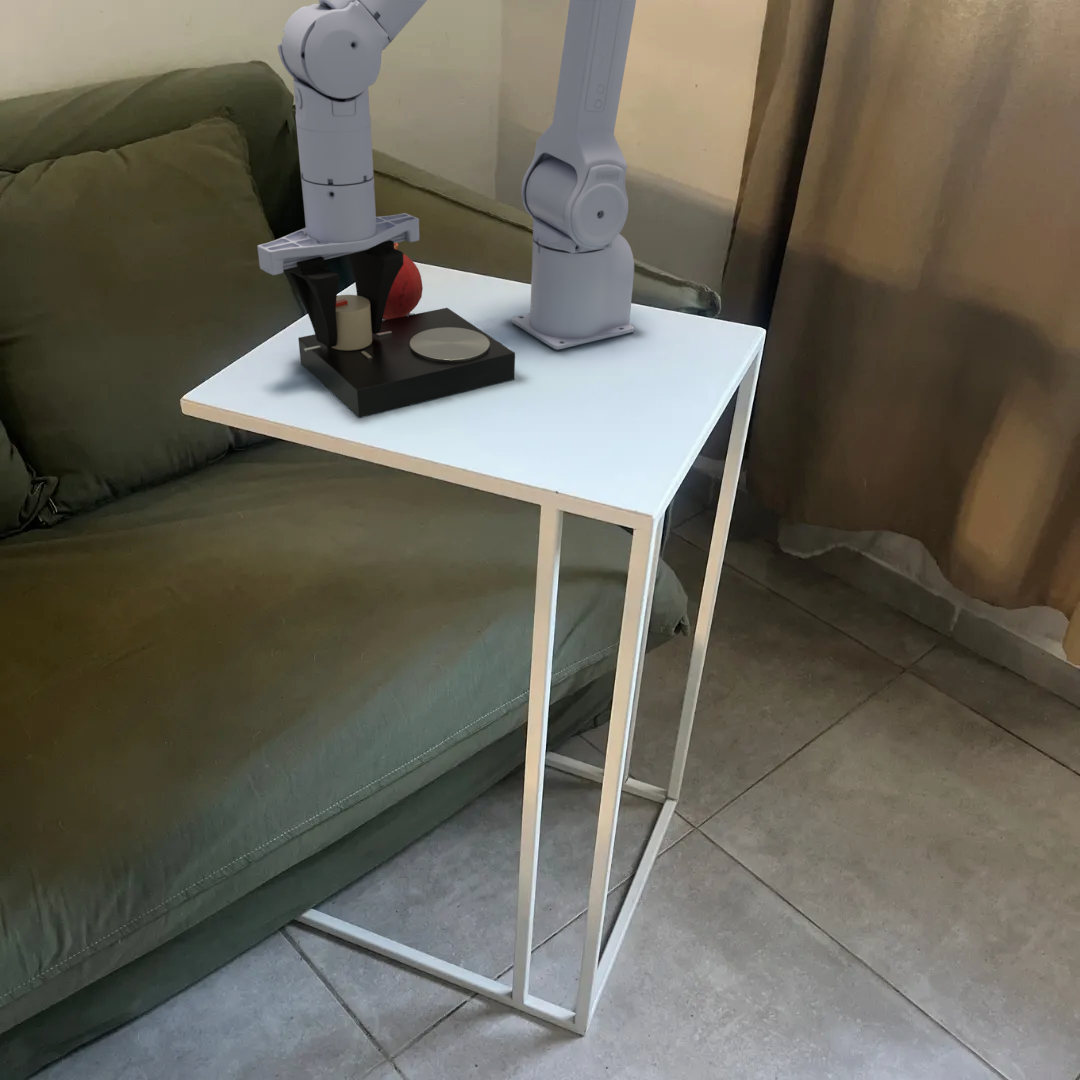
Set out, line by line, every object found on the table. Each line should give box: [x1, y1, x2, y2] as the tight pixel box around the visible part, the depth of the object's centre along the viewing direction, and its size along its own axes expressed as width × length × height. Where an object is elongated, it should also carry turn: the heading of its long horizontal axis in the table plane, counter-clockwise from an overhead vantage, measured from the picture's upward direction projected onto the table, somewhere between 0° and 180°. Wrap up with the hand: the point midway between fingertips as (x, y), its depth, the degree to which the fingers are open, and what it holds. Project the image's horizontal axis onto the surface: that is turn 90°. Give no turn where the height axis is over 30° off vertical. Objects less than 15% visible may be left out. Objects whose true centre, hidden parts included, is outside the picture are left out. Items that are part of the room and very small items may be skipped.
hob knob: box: [331, 294, 372, 350], centre depth 87 cm, size 4×4×4 cm
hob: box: [297, 307, 516, 418], centre depth 89 cm, size 16×13×3 cm
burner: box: [410, 327, 490, 363], centre depth 89 cm, size 7×7×1 cm
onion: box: [382, 243, 424, 320], centre depth 97 cm, size 6×6×8 cm
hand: (349, 336), depth 88 cm, fingers closed on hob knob, 4 cm apart
